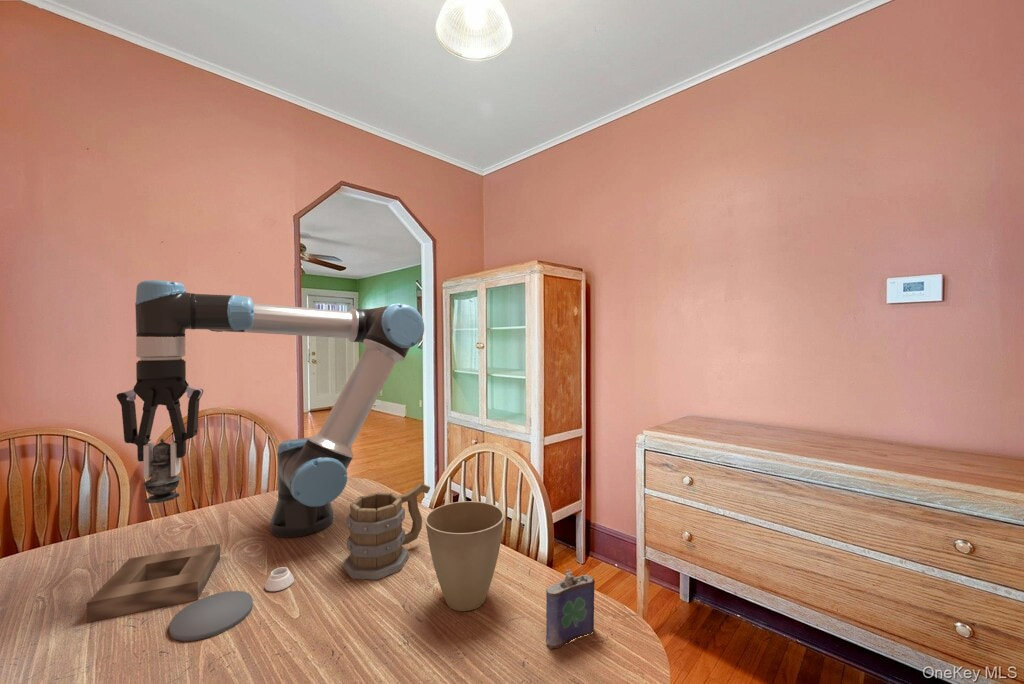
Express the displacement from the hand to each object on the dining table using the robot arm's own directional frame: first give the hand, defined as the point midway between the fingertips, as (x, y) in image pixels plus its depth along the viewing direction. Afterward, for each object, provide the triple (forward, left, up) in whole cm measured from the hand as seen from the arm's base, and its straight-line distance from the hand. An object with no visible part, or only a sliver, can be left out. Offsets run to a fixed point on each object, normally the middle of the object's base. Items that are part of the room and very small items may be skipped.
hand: (162, 475), depth 82 cm
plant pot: (-55, +28, -23) cm, 65 cm away
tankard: (-44, +7, -23) cm, 50 cm away
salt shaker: (0, 0, -5) cm, 5 cm away
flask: (-68, +44, -23) cm, 84 cm away
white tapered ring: (-21, +8, -23) cm, 33 cm away
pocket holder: (0, 0, -22) cm, 22 cm away
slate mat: (-12, +15, -22) cm, 29 cm away
